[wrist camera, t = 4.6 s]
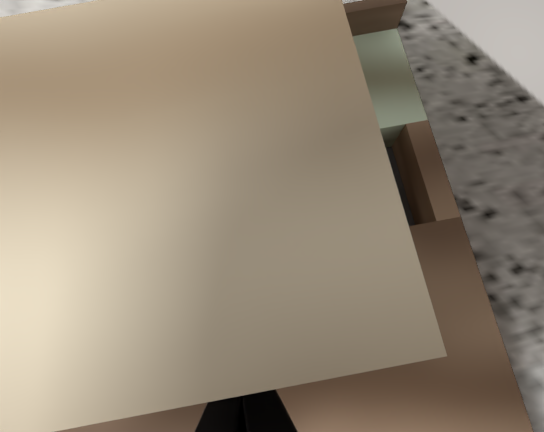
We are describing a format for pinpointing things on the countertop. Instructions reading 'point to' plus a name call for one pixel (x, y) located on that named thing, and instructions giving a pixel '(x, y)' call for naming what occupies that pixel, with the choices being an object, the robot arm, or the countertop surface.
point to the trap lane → (438, 277)
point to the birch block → (193, 210)
